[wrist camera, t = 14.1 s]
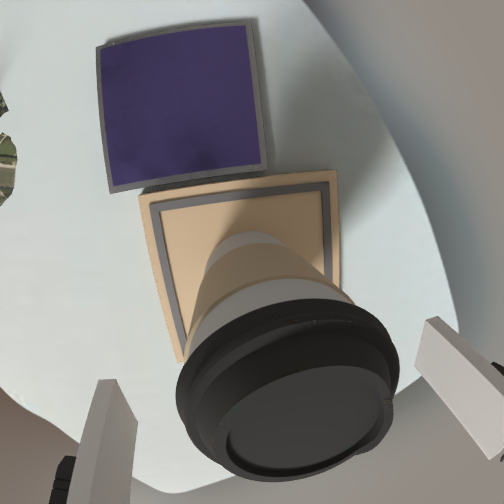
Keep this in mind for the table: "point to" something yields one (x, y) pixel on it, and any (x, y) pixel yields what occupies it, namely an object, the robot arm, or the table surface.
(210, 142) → the ink pad
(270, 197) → the square wooden board
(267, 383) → the coffee cup
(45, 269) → the table surface
